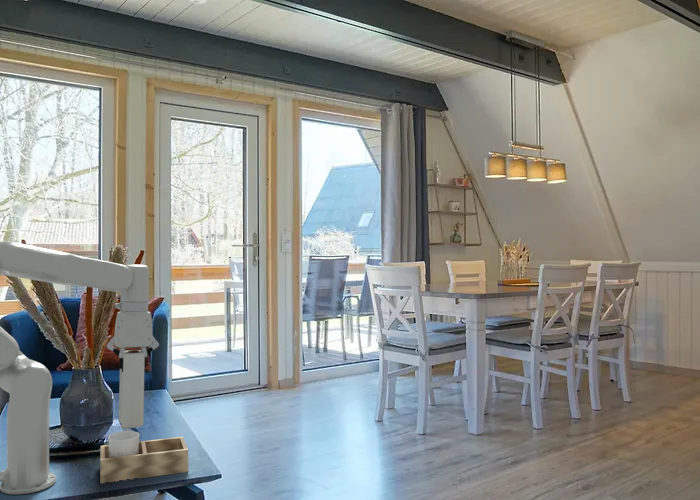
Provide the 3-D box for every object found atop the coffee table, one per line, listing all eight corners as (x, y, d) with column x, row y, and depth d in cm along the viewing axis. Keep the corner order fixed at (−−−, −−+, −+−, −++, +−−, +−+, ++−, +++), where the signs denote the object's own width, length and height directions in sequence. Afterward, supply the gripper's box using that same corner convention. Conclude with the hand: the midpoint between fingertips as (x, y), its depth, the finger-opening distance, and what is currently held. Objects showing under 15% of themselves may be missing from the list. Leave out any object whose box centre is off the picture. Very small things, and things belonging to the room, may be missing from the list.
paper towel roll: (145, 426, 172) (146, 352, 172) (123, 429, 169) (124, 353, 169) (140, 420, 179) (141, 348, 179) (118, 423, 176) (120, 349, 176)
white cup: (129, 464, 169) (129, 429, 169) (144, 471, 164) (145, 434, 164) (102, 473, 163) (102, 436, 163) (117, 480, 158) (117, 442, 158)
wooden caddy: (100, 483, 155) (100, 460, 155) (100, 467, 167) (100, 445, 167) (188, 471, 164) (188, 449, 164) (182, 457, 175) (182, 436, 175)
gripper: (102, 309, 167) (100, 374, 167) (165, 308, 174) (164, 371, 174) (102, 306, 174) (100, 369, 174) (163, 306, 181) (162, 367, 181)
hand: (132, 370), depth 174 cm, fingers closed on paper towel roll, 4 cm apart
